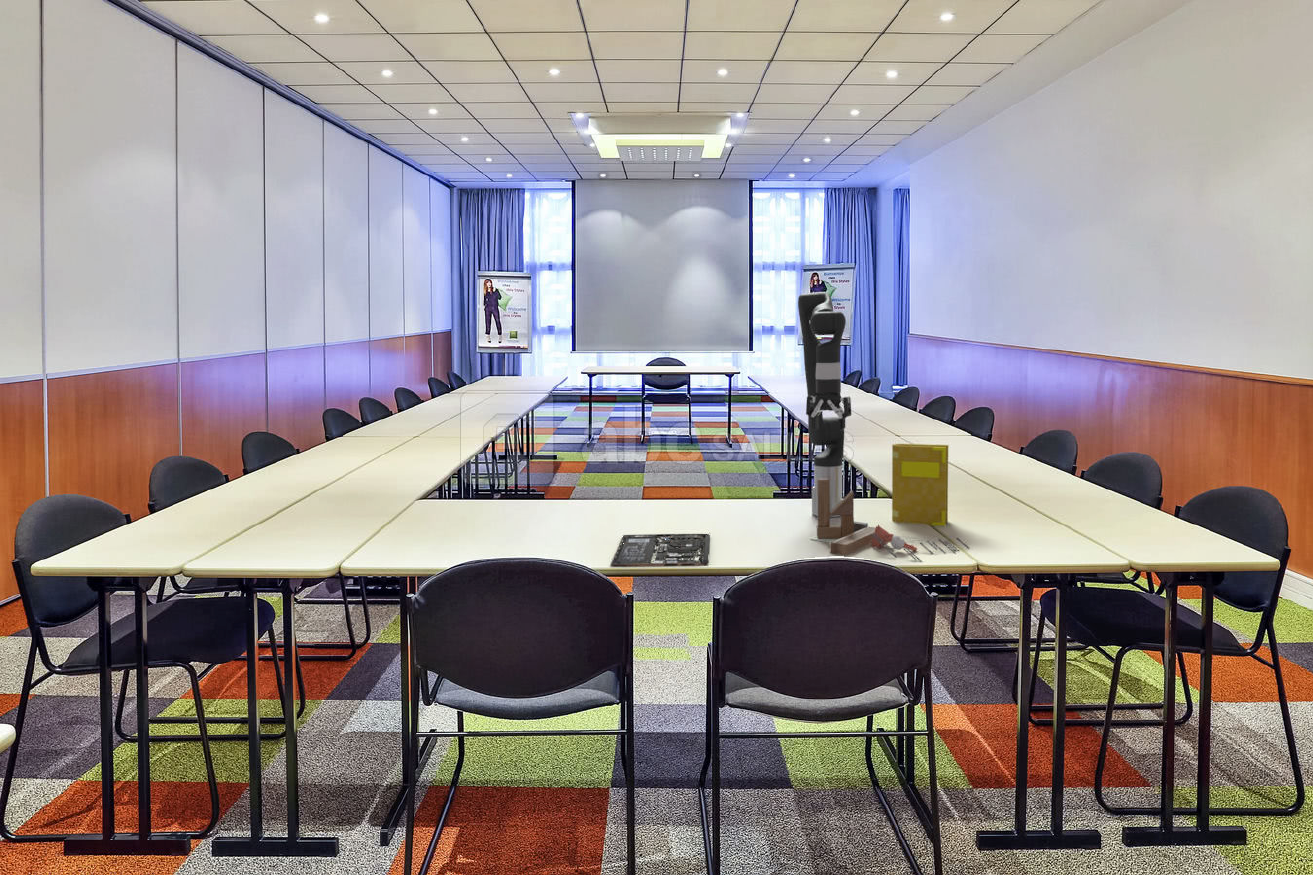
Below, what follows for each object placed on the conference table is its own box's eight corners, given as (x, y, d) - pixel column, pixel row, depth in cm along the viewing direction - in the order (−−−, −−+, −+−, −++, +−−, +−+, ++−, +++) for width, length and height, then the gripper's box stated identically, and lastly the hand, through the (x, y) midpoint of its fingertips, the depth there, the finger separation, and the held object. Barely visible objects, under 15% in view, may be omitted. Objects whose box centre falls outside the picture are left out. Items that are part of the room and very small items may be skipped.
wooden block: (853, 538, 280) (853, 479, 278) (817, 539, 281) (817, 480, 279) (852, 536, 284) (852, 477, 282) (816, 536, 285) (816, 478, 283)
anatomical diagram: (866, 525, 267) (934, 511, 277) (860, 550, 271) (927, 536, 281) (912, 567, 251) (982, 551, 261) (904, 593, 255) (973, 576, 266)
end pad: (810, 539, 282) (810, 538, 282) (823, 534, 288) (823, 533, 288) (846, 544, 275) (846, 543, 275) (858, 539, 281) (858, 538, 281)
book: (947, 521, 301) (948, 444, 298) (944, 526, 295) (945, 447, 292) (894, 518, 308) (894, 443, 305) (890, 522, 302) (890, 446, 299)
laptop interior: (622, 538, 293) (622, 533, 293) (711, 537, 291) (711, 531, 291) (607, 570, 259) (607, 563, 258) (708, 568, 256) (708, 562, 256)
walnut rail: (816, 550, 269) (816, 537, 268) (854, 534, 287) (854, 521, 287) (846, 555, 263) (846, 541, 262) (883, 538, 281) (883, 525, 281)
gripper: (855, 376, 284) (855, 429, 286) (813, 376, 293) (813, 427, 295) (843, 378, 278) (843, 432, 280) (801, 377, 287) (802, 430, 289)
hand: (828, 430), depth 287 cm, fingers open, 8 cm apart
